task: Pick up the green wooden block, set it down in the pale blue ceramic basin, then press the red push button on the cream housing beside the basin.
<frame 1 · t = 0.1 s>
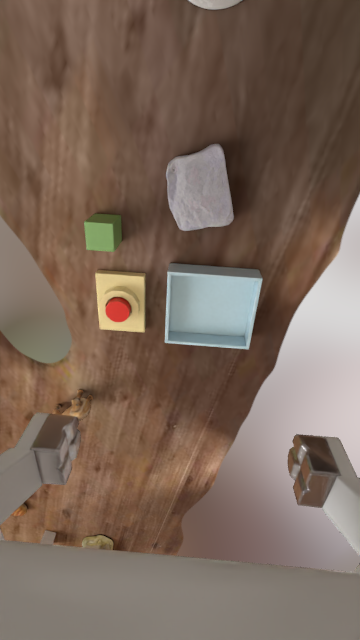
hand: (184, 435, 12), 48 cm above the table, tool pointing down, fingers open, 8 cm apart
ceramic model: (100, 544, 112), on the table
tea bag: (49, 535, 111), on the table
stone block: (198, 190, 53), on the table
button housing: (122, 300, 64), on the table
green block: (108, 227, 57), on the table
pastry: (12, 500, 101), on the table
button: (118, 309, 60), point 4 cm above the table, slide at 0.1 cm
lion figurine: (76, 397, 78), on the table
basin: (210, 302, 63), on the table
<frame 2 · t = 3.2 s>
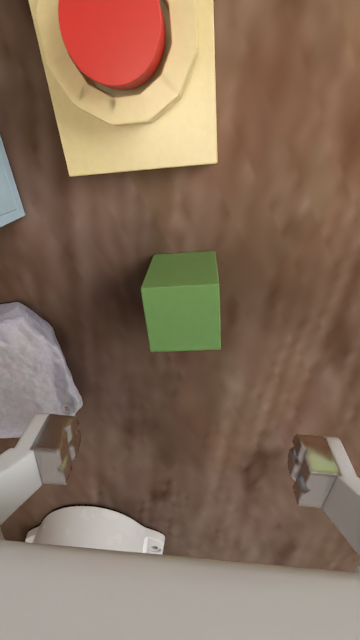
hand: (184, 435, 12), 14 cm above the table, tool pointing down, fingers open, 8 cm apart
stone block: (28, 360, 30), on the table
button housing: (131, 48, 18), on the table
green block: (186, 280, 25), on the table
button: (114, 28, 14), point 4 cm above the table, slide at 0.1 cm
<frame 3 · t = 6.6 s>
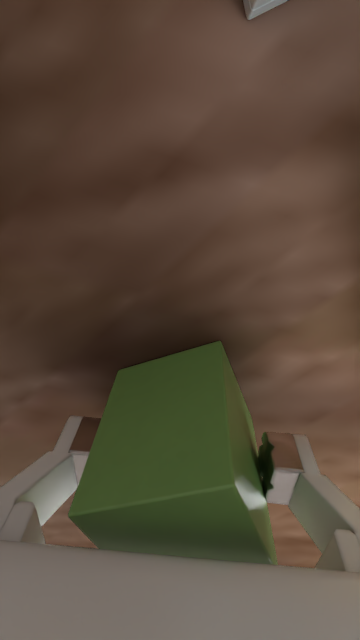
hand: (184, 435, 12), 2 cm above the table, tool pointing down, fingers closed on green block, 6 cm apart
green block: (187, 395, 14), on the table, touching gripper
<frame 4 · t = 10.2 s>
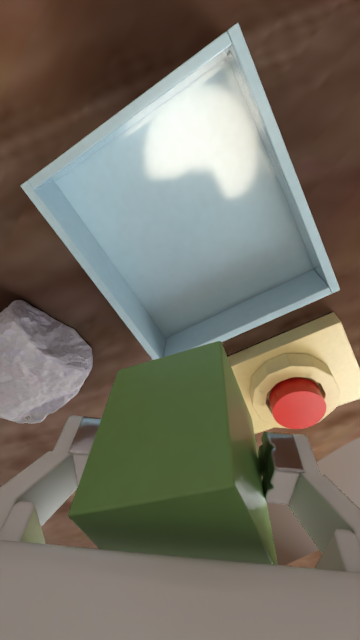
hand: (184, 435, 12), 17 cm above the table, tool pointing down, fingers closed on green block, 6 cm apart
stone block: (36, 359, 33), on the table
button housing: (286, 373, 31), on the table
green block: (187, 394, 14), point 15 cm above the table, touching gripper
button: (296, 403, 28), point 4 cm above the table, slide at 0.1 cm
basin: (190, 224, 25), on the table
when the fingers open (3 cm above the table, at t = 14.0 s): green block stays where it is, resting on basin.
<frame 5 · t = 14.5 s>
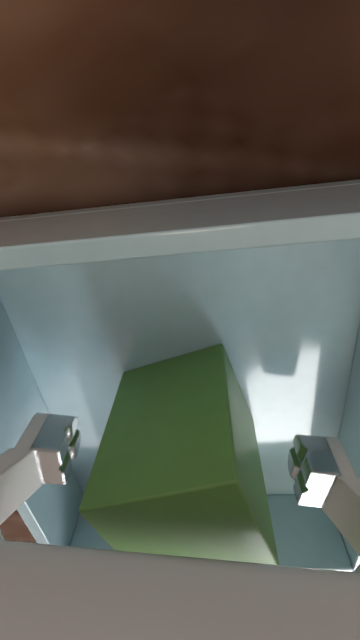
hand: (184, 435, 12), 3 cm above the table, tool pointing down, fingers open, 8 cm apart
green block: (190, 395, 14), point 1 cm above the table, touching basin
basin: (188, 381, 15), on the table
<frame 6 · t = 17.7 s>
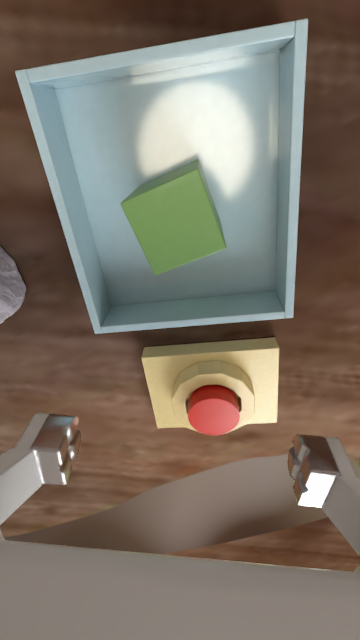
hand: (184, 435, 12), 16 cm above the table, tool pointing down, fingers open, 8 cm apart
button housing: (212, 380, 32), on the table
green block: (180, 205, 23), point 1 cm above the table, touching basin
button: (213, 410, 28), point 4 cm above the table, slide at 0.1 cm
basin: (179, 201, 24), on the table
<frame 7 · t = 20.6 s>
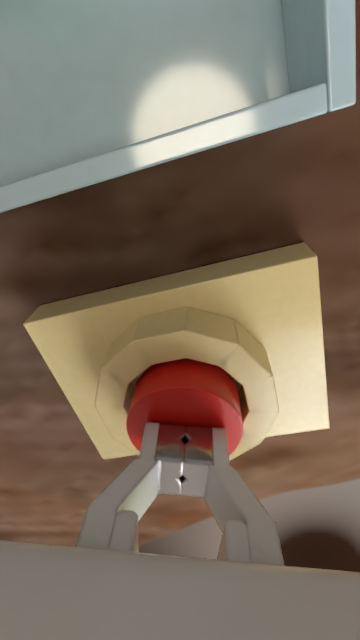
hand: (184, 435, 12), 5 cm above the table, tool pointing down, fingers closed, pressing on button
button housing: (188, 357, 16), on the table
button: (185, 414, 13), point 4 cm above the table, slide at -0.1 cm, touching gripper
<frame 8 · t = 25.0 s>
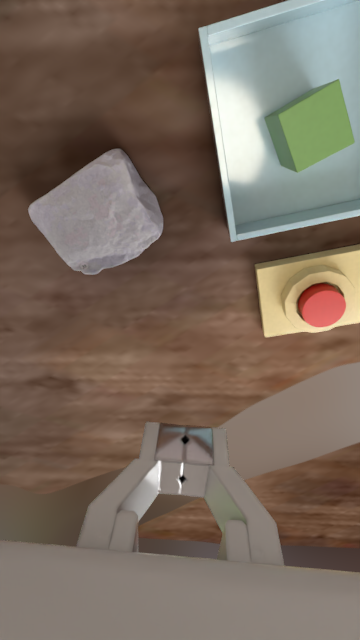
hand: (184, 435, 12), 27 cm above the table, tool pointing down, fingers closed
stone block: (106, 217, 35), on the table
button housing: (310, 290, 38), on the table
green block: (296, 129, 30), point 1 cm above the table, touching basin
button: (321, 305, 35), point 4 cm above the table, slide at 0.1 cm
basin: (293, 128, 30), on the table
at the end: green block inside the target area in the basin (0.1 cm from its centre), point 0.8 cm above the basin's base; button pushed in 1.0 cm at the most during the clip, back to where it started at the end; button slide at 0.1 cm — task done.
